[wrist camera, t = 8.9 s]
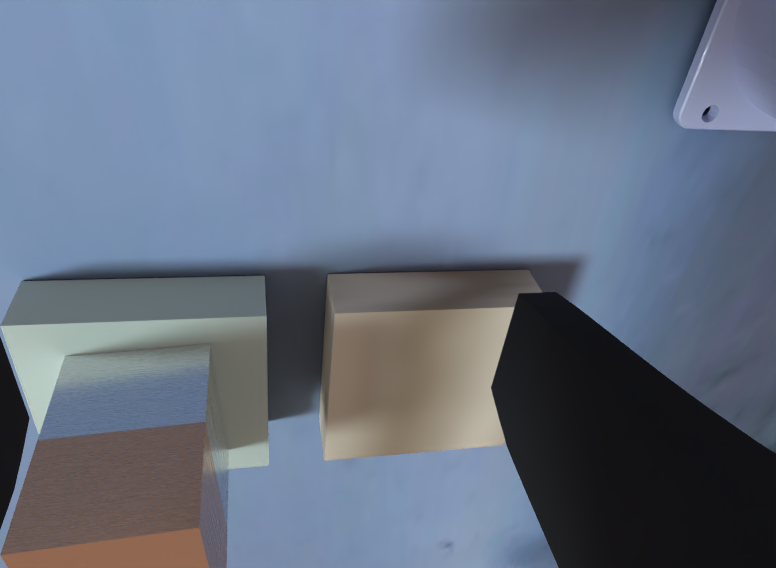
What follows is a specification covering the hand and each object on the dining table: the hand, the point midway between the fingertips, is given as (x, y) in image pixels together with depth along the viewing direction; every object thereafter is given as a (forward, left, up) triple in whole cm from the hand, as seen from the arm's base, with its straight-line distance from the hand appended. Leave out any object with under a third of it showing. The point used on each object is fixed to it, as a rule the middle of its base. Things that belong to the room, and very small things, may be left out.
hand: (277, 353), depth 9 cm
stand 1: (+4, +9, -9) cm, 13 cm away
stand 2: (-6, +9, -9) cm, 14 cm away
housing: (+4, +9, -7) cm, 12 cm away
